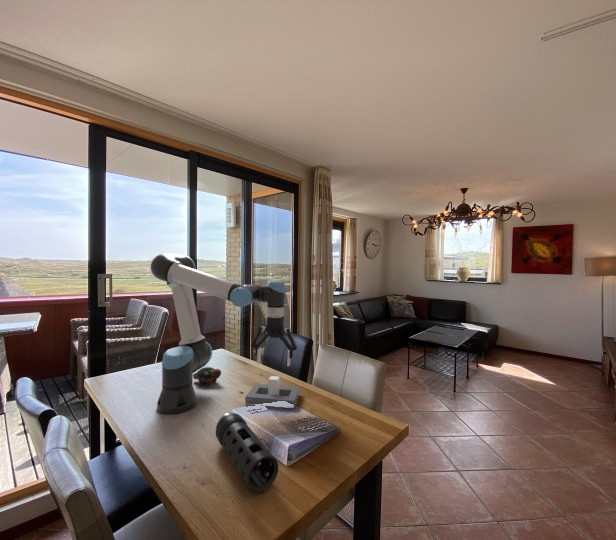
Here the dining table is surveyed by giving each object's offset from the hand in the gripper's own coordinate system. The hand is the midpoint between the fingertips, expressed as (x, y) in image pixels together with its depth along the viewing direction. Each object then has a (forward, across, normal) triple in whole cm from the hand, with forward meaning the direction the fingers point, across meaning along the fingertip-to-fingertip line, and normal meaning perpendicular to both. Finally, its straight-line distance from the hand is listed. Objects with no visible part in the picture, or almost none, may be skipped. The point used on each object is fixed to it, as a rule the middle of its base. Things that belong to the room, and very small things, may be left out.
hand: (273, 364), depth 132 cm
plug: (+15, 0, 0) cm, 15 cm away
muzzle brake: (+16, +2, -43) cm, 46 cm away
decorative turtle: (+17, -36, +11) cm, 42 cm away
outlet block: (+16, 0, 0) cm, 16 cm away
